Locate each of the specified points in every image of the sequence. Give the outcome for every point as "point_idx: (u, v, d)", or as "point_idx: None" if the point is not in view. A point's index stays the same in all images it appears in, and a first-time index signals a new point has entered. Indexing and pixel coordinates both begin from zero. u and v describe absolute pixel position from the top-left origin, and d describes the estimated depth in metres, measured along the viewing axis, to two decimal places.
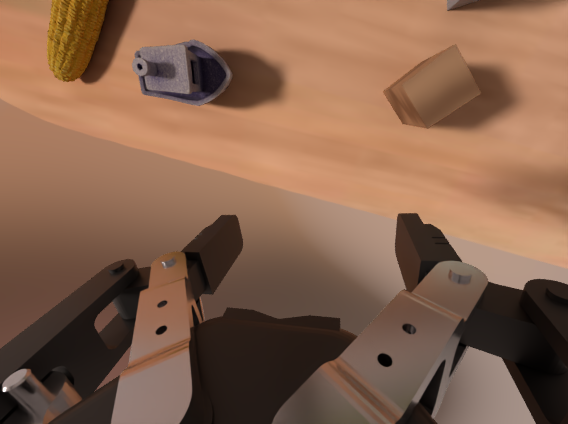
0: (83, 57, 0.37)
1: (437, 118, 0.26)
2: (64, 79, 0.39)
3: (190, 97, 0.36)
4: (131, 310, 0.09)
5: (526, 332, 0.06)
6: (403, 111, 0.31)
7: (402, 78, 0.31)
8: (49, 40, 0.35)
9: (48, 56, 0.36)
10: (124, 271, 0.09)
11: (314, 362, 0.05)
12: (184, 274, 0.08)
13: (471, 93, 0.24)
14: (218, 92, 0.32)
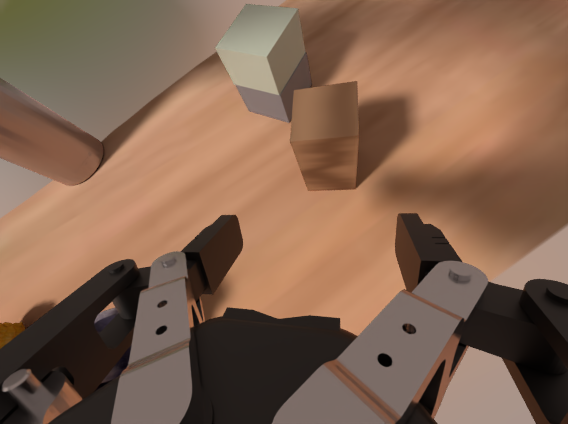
0: None
1: (354, 122, 0.19)
2: None
3: None
4: (131, 310, 0.09)
5: (526, 332, 0.06)
6: (334, 171, 0.24)
7: None
8: None
9: None
10: (124, 271, 0.09)
11: (314, 362, 0.05)
12: (184, 274, 0.08)
13: (350, 88, 0.20)
14: None
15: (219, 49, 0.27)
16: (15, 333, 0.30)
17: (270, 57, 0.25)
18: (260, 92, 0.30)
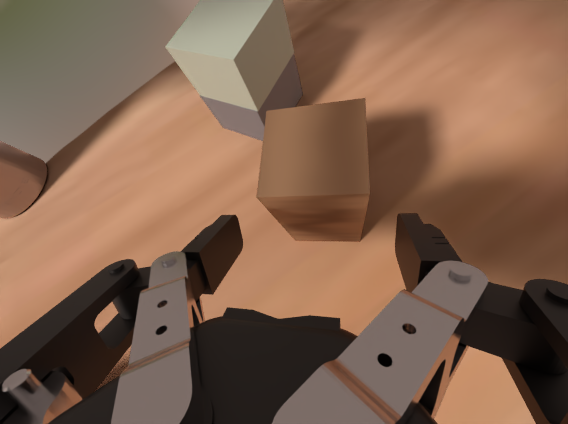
0: None
1: (361, 169, 0.11)
2: None
3: None
4: (131, 310, 0.09)
5: (526, 332, 0.06)
6: (329, 226, 0.16)
7: None
8: None
9: None
10: (124, 271, 0.09)
11: (314, 362, 0.05)
12: (184, 274, 0.08)
13: (355, 109, 0.13)
14: None
15: (171, 49, 0.19)
16: None
17: (240, 59, 0.17)
18: (232, 107, 0.23)
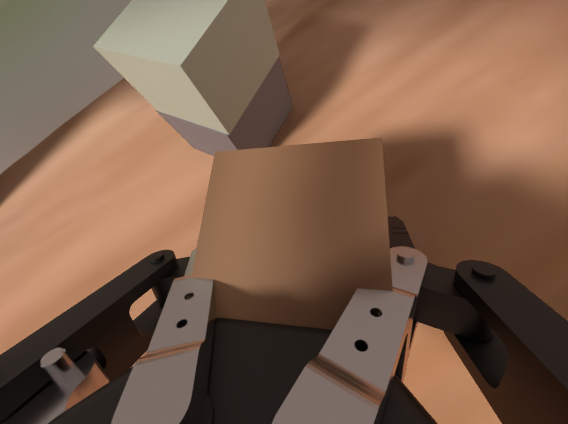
0: None
1: (377, 287, 0.06)
2: None
3: None
4: None
5: (455, 305, 0.07)
6: None
7: None
8: None
9: None
10: (165, 261, 0.09)
11: None
12: None
13: (363, 159, 0.07)
14: None
15: (101, 49, 0.13)
16: None
17: (192, 65, 0.11)
18: (196, 127, 0.17)
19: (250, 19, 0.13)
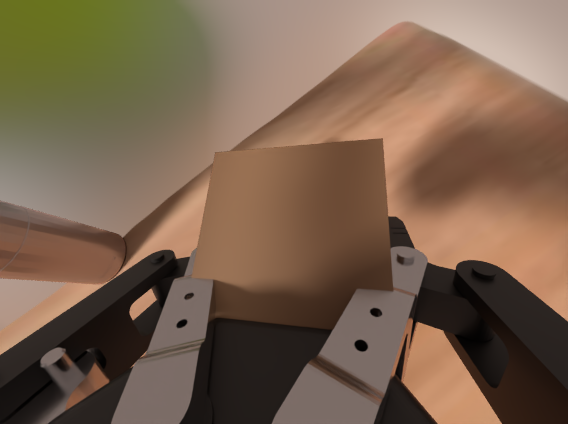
0: None
1: (378, 289, 0.06)
2: None
3: None
4: None
5: (455, 305, 0.07)
6: None
7: None
8: None
9: None
10: (165, 261, 0.09)
11: None
12: None
13: (364, 159, 0.07)
14: None
15: None
16: None
17: None
18: None
19: None
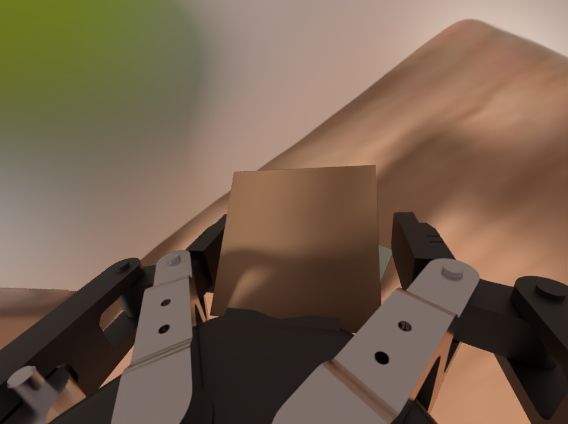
0: None
1: (368, 289, 0.07)
2: None
3: None
4: (136, 308, 0.09)
5: (516, 328, 0.06)
6: None
7: None
8: None
9: None
10: (129, 269, 0.09)
11: (314, 362, 0.05)
12: (188, 273, 0.08)
13: (359, 182, 0.08)
14: None
15: None
16: None
17: None
18: None
19: None
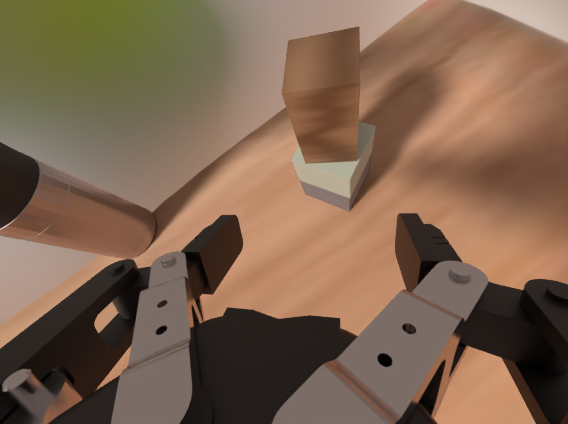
0: None
1: (354, 69, 0.17)
2: None
3: None
4: (131, 310, 0.09)
5: (526, 332, 0.06)
6: (332, 136, 0.22)
7: None
8: None
9: None
10: (124, 271, 0.09)
11: (314, 362, 0.05)
12: (184, 274, 0.08)
13: (351, 34, 0.18)
14: None
15: (296, 162, 0.27)
16: None
17: (352, 177, 0.25)
18: (326, 190, 0.31)
19: (368, 146, 0.27)
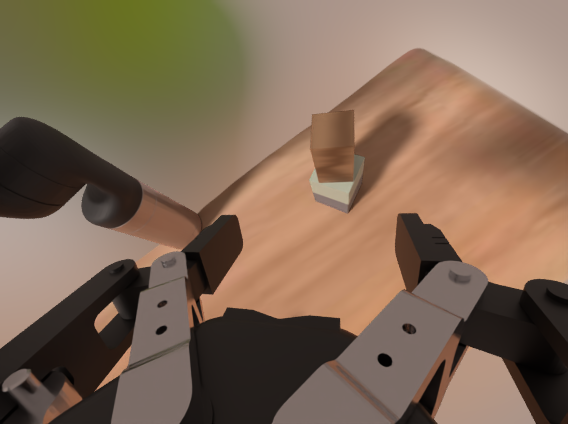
0: None
1: (351, 137, 0.30)
2: None
3: None
4: (131, 310, 0.09)
5: (526, 332, 0.06)
6: (338, 168, 0.35)
7: None
8: None
9: None
10: (124, 271, 0.09)
11: (314, 362, 0.05)
12: (184, 274, 0.08)
13: (349, 114, 0.31)
14: None
15: (312, 181, 0.41)
16: None
17: (350, 191, 0.39)
18: (332, 199, 0.44)
19: (360, 170, 0.41)
